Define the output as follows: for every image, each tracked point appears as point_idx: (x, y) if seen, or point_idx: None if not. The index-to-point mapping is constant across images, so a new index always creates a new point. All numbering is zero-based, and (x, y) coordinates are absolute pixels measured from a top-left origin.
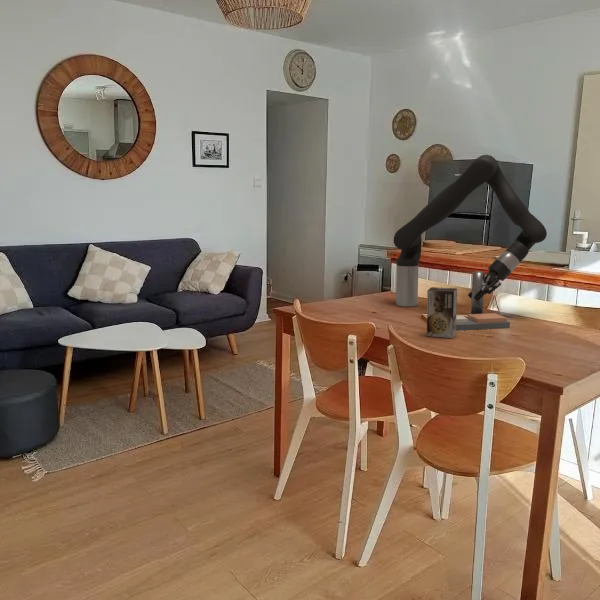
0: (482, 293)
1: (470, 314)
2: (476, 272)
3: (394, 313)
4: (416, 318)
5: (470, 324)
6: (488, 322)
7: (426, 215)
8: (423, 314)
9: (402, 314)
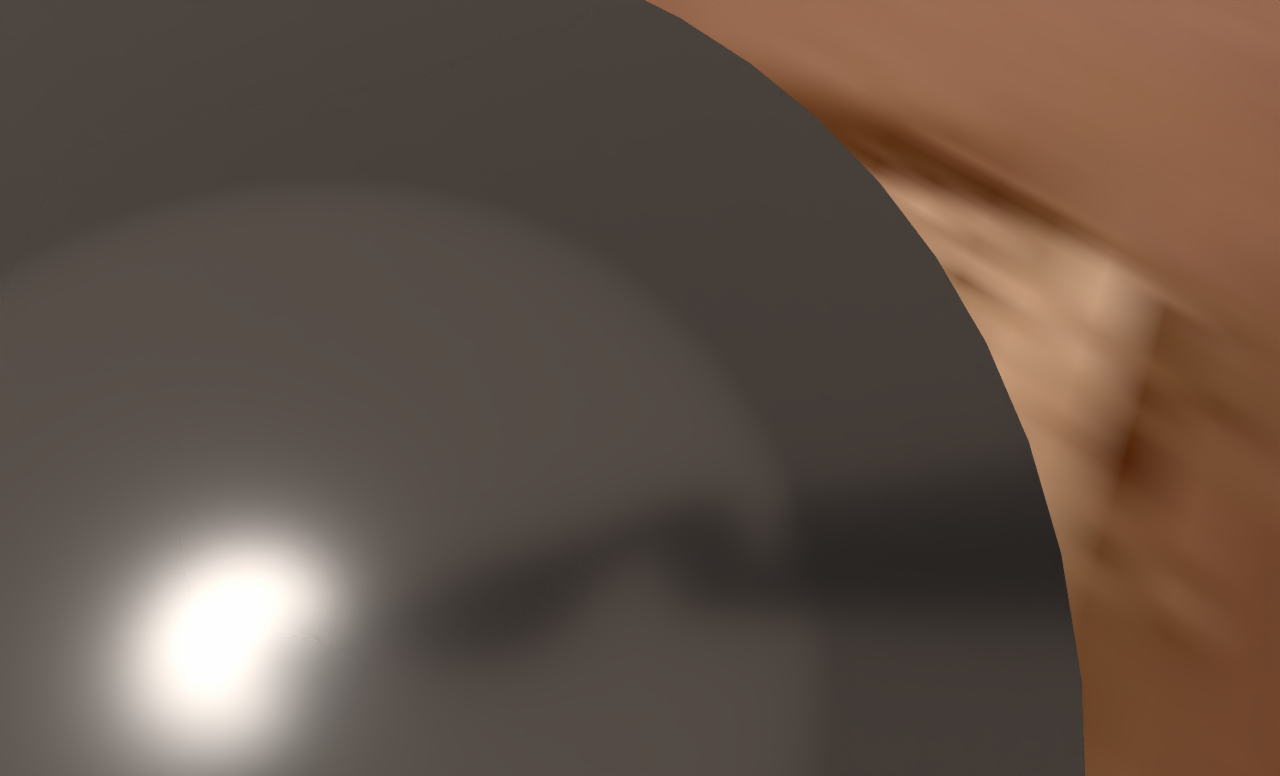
0: None
1: None
2: (175, 167)
3: (1237, 44)
4: (913, 88)
5: None
6: None
7: None
8: (1105, 266)
9: (1164, 80)
